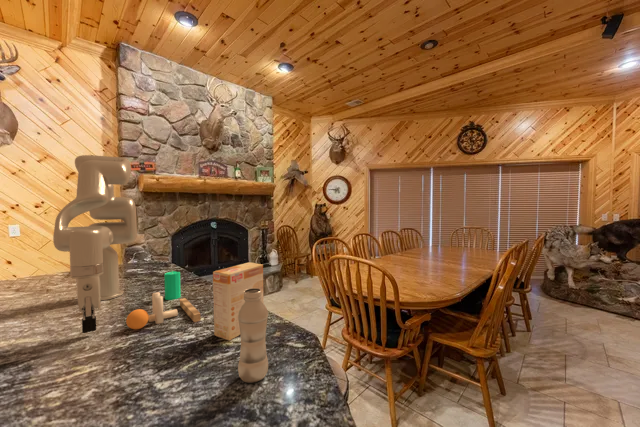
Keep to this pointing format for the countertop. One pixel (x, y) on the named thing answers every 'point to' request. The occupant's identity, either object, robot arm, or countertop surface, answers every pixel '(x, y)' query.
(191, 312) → the back wall
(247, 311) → the plastic bottle
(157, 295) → the back pin far
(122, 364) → the countertop surface
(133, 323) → the ball
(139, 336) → the countertop surface
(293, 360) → the countertop surface
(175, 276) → the candle
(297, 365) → the countertop surface
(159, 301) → the back pin near
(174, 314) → the front pin
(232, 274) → the coffeecake box
